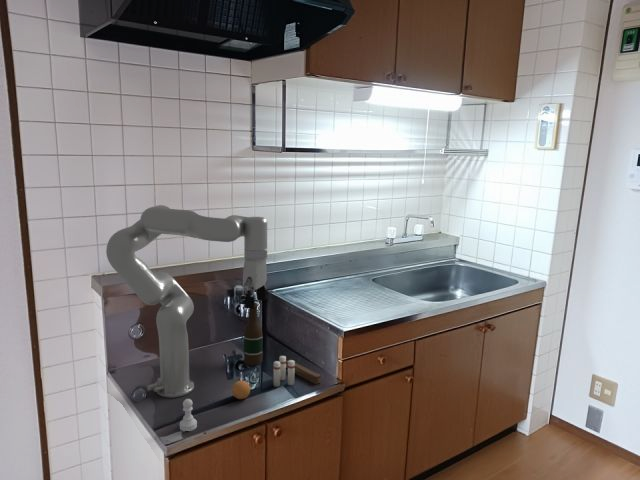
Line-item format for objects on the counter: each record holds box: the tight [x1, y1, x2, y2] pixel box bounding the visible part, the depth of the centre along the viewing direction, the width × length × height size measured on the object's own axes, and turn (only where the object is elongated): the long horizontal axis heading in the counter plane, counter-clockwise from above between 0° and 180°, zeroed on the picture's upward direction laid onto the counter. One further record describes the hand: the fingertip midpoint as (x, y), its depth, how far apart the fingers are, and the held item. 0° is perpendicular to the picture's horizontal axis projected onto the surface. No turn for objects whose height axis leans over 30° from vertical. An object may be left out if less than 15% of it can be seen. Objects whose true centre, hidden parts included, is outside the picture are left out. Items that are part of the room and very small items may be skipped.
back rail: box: [286, 359, 322, 385], centre depth 183 cm, size 2×18×3 cm, turn 42°
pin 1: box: [278, 355, 287, 381], centre depth 179 cm, size 2×2×8 cm
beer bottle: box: [243, 302, 264, 366], centre depth 193 cm, size 8×8×24 cm
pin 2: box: [287, 359, 296, 386], centre depth 176 cm, size 2×2×8 cm
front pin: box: [273, 360, 281, 387], centre depth 175 cm, size 2×2×8 cm
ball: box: [232, 380, 251, 400], centre depth 165 cm, size 6×6×6 cm
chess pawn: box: [179, 398, 198, 432], centre depth 146 cm, size 5×5×9 cm
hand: (255, 303), depth 165 cm, fingers open, 9 cm apart
